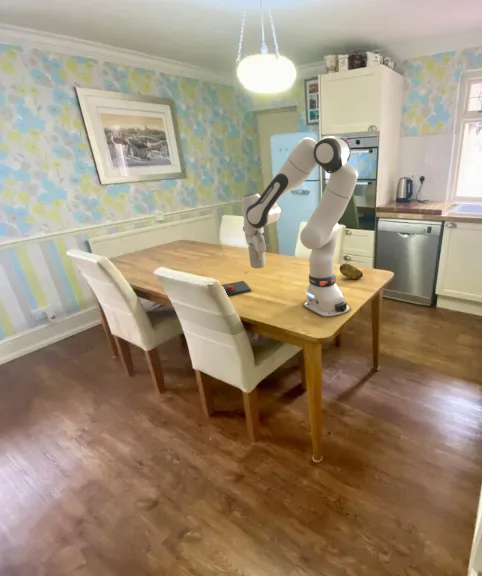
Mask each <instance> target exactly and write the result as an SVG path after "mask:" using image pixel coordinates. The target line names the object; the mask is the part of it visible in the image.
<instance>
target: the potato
mask: <svg viewBox="0 0 482 576" xmlns="http://www.w3.org/2000/svg"><path fill="white" fill-rule="evenodd" d="M339 272H340V273H341V275H342V276H344V277H346V278H347V279H349V280H359V279H362V278H363V276H364V273H363V271H362V270H361V269H359V268H358V267H355V266H354V265H352V264H350V263H343V264H341V265H340V266H339Z"/></svg>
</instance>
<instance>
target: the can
mask: <svg viewBox="0 0 482 576" xmlns="http://www.w3.org/2000/svg"><path fill="white" fill-rule="evenodd" d="M247 249H248V255H249V256H248V257H249V263H250V267H251V268H253V269H262V268H264V267H266V265H267V263H266V252H263V254H262V260H258V257H257V256H258V253H257V251H255V249H254V245H252V244H251V243H249V245H247Z"/></svg>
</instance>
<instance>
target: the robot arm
mask: <svg viewBox="0 0 482 576" xmlns="http://www.w3.org/2000/svg"><path fill="white" fill-rule="evenodd" d="M351 153H352V150H351V146H350V144H349V142H348V141H347V140H345V139H344V138H340V137H338V136H326V137H323V138H321V139H319V140H318V141H317V140H315V139H313V138H311V137H304V138H302V139H301V140H300V141H299V142H298V143H297V144H296V146H294V148H293V149H292V150H291V152H290V153H289V155H288V156H287V158H286V160H285V161H284V163H283V165H282V166H281V168H280V169H279V171H278V172H277V174H276V175H275V177H274V178H273V179H272V180H271V181H270V182H269V184H268V185H267V187H266V188H265V190H264V191H263V193H261V195H260V194H259V193H254V192H253V193H250V194H245V195H243V197H242V198H241V213H242V216H243V226H242V230H243V232H244V238H245V241H246V244H247V246H249V243H251V244H252V245H254V249H255V251H257V253H258V256H257V257H258V260H262V254H263V252H265V253H266V252H267V248H266V241H265V237H264V235H262V234H263V233H265V231H264V227H266V226H267V225H271V224H273V223H275V222H277V221H278V220H280V218H281V216H282V210H281V209H282V208H281V206H280V205H279V204H278V203H277V202H278V201H279V199H280V198H281V197H282V196H284V194H286V193H288V192H289V191H292V190H293V189H296V188H298V187H300V186H302V185H303V183H304V182H305V181H306V180H307V179H308V178H309V177H310V175H311V174H312V172H313V171H314V169H315V168H316V167H317V166H319V167H321V168H322V169H323V170H324V171H325V172H326V173H327V174H329V179H328V181H327V183H326V185H325V187H324V191H323V193H322V196H321V198H320V200H319V202H318V204H317V206H316V208H315V209H314V211H313V212H312V214H311V216H310V217H309V219H308V221H307V223H306V224H305V226H304V227H303V229H302V230H301V231H300V234H299V239H300V243H301V244H302V245H303V247H304V248H306V249H308V250H311V252H310V255H309V258H308V262H309V266H308V267H309V273H308V282H309V284H308V287H307V288H306V292H305V295H306V302H304V304H303V305H304V307H305V308H307V309H309V310H310V311H312V312H314V313H316V314H318V315H319V316H322V317H325V318H327V317H335V316H339V315H342V314H345V313H347V312H349V311H350V310H351V309H350V306H349V305H348V303H347V302H345V292H344V291H341V290H340V286H338V284H337V278H336V275H335V269H334V267H335V265H334V262H335V259H334V258H335V250H336V245H337V239H338V238H337V237H338V234H339V232H340V225H339V223H338V222H339V221H340V219H341V218H342V217H343V215H344V213H345V211H346V209H347V208H348V205H349V202H350V200H351V199H352V197H353V194H354V190H355V188H356V185H357V182H358V178H359V173H358V170H357V169H356V168H355V166H353V165H351V164H350V163H349V162H348V161H349V160H350V158H351Z"/></svg>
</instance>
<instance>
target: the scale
mask: <svg viewBox="0 0 482 576" xmlns="http://www.w3.org/2000/svg"><path fill="white" fill-rule="evenodd" d="M228 285H232V286H233V289H232V290H227V286H228ZM222 286H223V287H224V289H225V291H226V293H227V294H228V296H227V297H230V296H235V295H240V294H244V293H249V292H251V288H250V287H249V285H248V284H247V283H246V282H245V281H244V280H241V281H234V282H230V283H229V282H228V283H225V284H224V283H223V284H221V287H222ZM226 293H225V294H226ZM227 294H226V295H227Z"/></svg>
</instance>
